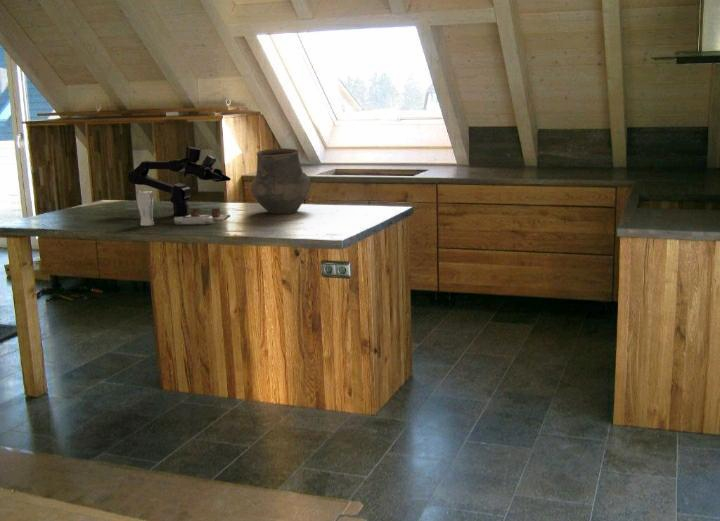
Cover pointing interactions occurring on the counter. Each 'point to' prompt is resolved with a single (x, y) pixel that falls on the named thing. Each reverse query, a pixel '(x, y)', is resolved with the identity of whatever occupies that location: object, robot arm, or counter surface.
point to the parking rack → (215, 215)
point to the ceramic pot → (280, 181)
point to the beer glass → (145, 207)
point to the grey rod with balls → (194, 220)
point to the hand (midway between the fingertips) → (226, 178)
